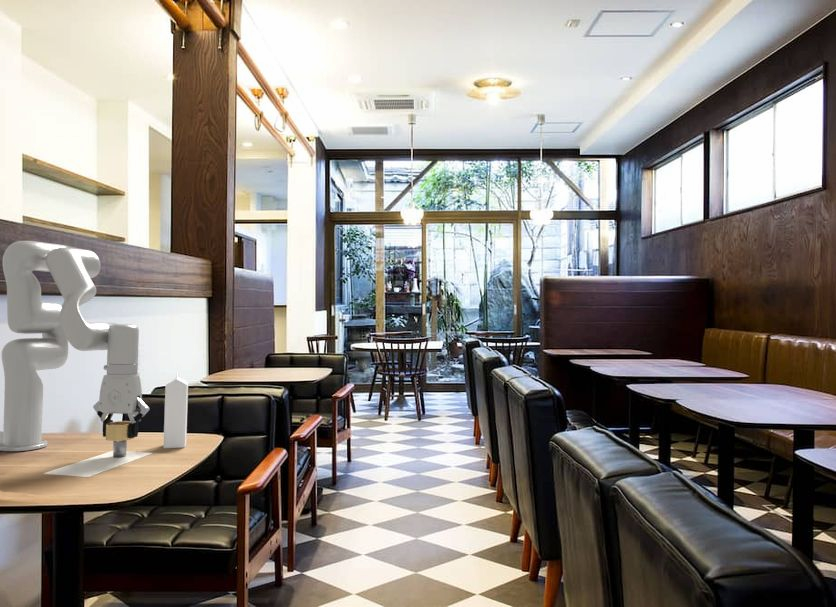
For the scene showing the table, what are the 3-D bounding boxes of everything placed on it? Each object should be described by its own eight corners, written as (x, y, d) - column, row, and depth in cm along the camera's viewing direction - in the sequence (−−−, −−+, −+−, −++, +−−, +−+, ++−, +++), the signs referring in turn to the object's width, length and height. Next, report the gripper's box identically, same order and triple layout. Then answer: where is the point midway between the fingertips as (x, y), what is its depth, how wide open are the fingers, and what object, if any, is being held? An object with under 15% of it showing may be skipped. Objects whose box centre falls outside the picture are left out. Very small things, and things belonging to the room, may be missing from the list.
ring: (100, 439, 164) (100, 424, 164) (116, 435, 171) (117, 420, 171) (123, 441, 163) (124, 426, 163) (139, 436, 170) (139, 421, 170)
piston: (110, 457, 166) (111, 434, 166) (118, 454, 169) (118, 432, 169) (121, 458, 165) (121, 435, 165) (128, 455, 168) (129, 433, 168)
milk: (163, 448, 185) (165, 374, 185) (165, 444, 190) (167, 372, 191) (185, 447, 186) (187, 373, 186) (186, 443, 192) (188, 371, 192)
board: (42, 479, 148) (43, 473, 148) (113, 455, 174) (113, 450, 174) (87, 483, 146) (88, 476, 146) (152, 458, 172) (153, 452, 172)
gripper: (83, 370, 165) (81, 437, 165) (143, 372, 162) (141, 441, 162) (102, 367, 173) (100, 432, 172) (159, 370, 170) (157, 435, 169)
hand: (120, 436), depth 167 cm, fingers closed on ring, 6 cm apart
